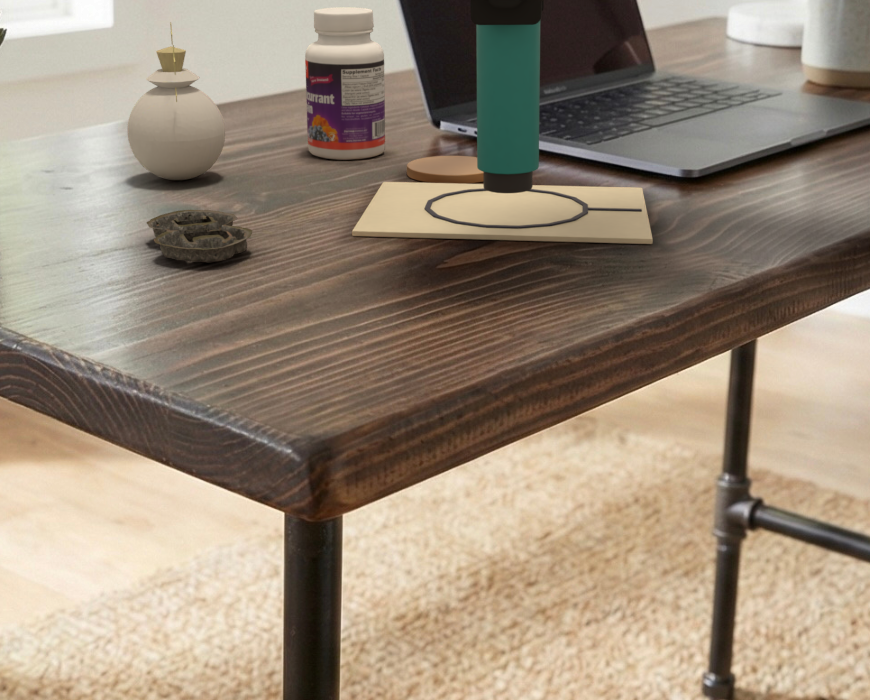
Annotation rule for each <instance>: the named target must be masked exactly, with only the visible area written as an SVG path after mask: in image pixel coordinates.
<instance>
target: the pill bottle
mask: <svg viewBox="0 0 870 700" xmlns="http://www.w3.org/2000/svg"><path fill="white" fill-rule="evenodd" d="M374 25H375V23H374V12H373V10H372V9H371V8H365V7H349V6H344V7H343V6H342V7H341V6H340V7H324V8H318V9H314V11H313V29H314V33H316V34H317V40H316V41H314V42H312V43H310V44H309V45H308V46H307V48H306V50H305V52H304V53H305V54H304V67H305V69H304V70H305V90H306V91H305V96H306V130H307V132H306V134H307V147H308V151H309V153H310V154H311V155H312V156H315V157H318V158H321V159H329V160H336V161H337V160H339V161H350V160H351V161H352V160H363V159H370V158H374V157H377V156H379V155H382V154H383V153H384V151H385V148H386V116H385V115H386V102H385V101H386V100H385V93H386V91H385V90H386V89H385V85H386V83H385V52H384V49H383V47H382V46H381V44H379V43H378V42H376V41H374V40H372V38H371V34H372V32H374V27H375V26H374Z"/></svg>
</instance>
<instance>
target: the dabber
mask: <svg viewBox="0 0 870 700" xmlns="http://www.w3.org/2000/svg"><path fill="white" fill-rule="evenodd" d="M475 26H476V27H475V28H476V29H475V30H476V33H475V34H476V147H477V148H476V157H477V168H478V169H479V170H480V171H483V182H482V183H483V184H484V189H485V190H487V191H490V192H495V193H520V192H525V191H528V190H530V189H532V185H533V174H534V173H533V172H535V171H537V170H538V169H539V166H540V97H541V96H540V94H541V93H540V91H541V89H540V84H541V83H540V82H541V80H540V79H541V78H540V77H541V20H540V21H539V22H538V23H537V24H534V25H476V24H475Z"/></svg>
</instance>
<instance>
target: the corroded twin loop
mask: <svg viewBox="0 0 870 700" xmlns="http://www.w3.org/2000/svg"><path fill="white" fill-rule="evenodd" d="M237 220H238V217H237V216H236V214H234V213H228V212H224V211H220V210H213V209H181V210H174V211H172V212H167V213H163V214H160V215H157V216H155V217H153V218H150V219H149V220H148V221H146V224H147V226H148V227H149V228H150V229H152V231H153V235H154V237H155V238H153V241H154V243H155V244H158V245H159V246H160V251H161V253H162V255H163V256H164V258H167V259H173V260H175V261H184V262H189V263H194V262H195V263H198V262H199V263H201V262H202V263H214V262H215V263H216V262H222V261H223V260H227V259H230V258H233V256H234V255H235V254H240V253H243V252H245V251H247V249H248V240H247V239H249V238H251V236H252V234H253V230H252V229H250V228H248V227H244V226H243V227H242V226H236V225H233V224H234V222H235V221H237Z"/></svg>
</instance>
